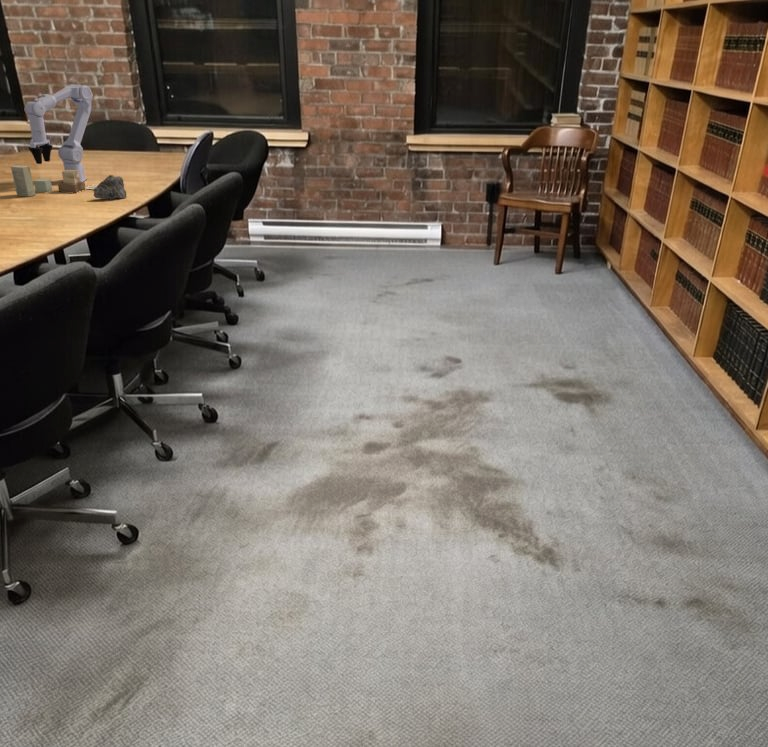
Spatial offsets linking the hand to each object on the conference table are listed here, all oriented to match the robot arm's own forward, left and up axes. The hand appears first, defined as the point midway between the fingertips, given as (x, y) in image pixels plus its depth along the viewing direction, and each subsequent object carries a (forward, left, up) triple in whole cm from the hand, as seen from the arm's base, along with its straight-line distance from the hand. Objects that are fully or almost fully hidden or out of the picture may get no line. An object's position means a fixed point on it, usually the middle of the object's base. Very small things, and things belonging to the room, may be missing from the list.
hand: (43, 162), depth 297 cm
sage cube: (+11, +4, -11) cm, 16 cm away
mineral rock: (+18, +36, -11) cm, 42 cm away
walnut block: (+7, +15, -11) cm, 20 cm away
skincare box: (+21, +1, -11) cm, 23 cm away
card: (-2, +21, -10) cm, 23 cm away
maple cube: (+7, +15, -7) cm, 18 cm away
